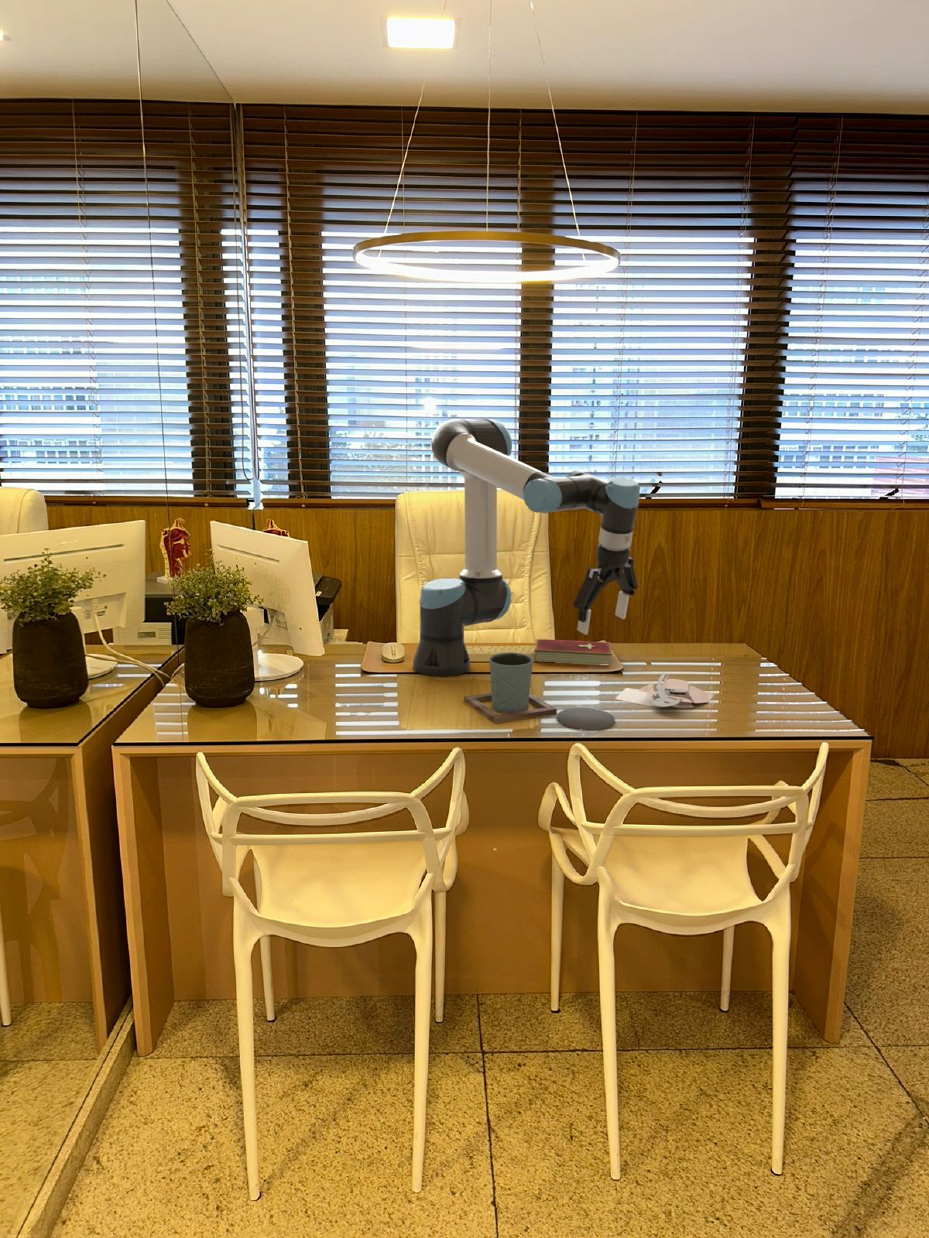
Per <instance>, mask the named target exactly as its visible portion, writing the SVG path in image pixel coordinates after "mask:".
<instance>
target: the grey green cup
mask: <svg viewBox="0 0 929 1238" xmlns="http://www.w3.org/2000/svg"><path fill="white" fill-rule="evenodd" d="M488 662H489V672H490V688H491V689H490V691H491V692H490V693H491V695H492V700H491V708H492V710H493V711H495V712H499V713H502V714H508V713H514V712H521V711H527V710H529V705H530V704H529V703H530V702H529V699H528V698H529V693H531V692H530V691H531V690H530V689H531V682H532V672H533V665H534V658H533V657H532V656H530V655H527V654H524V653H518V652H500V653H496V654H493V655H491V656H490V657H489V659H488Z"/></svg>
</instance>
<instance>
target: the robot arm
mask: <svg viewBox="0 0 929 1238" xmlns="http://www.w3.org/2000/svg"><path fill="white" fill-rule="evenodd" d="M430 444H431V446H430V447H431V452H432V454H433V456H434V458H435V459H436V460H437V461H438V462H439V463H440V464H442V465H443V466H445V467H447V468H449V469H451V470H452V471H455V472H458V473H459V474H460V475H462V477H463V478H464V568H463V569H461V571H460V572H459V578H453V577H448V578H447V577H446V578H438V579H433V580H430V581H428V582H426V583H425V584H424V585H422V587H421V589H420V598H419V641H418V645H417V647H416V650H415V652H414V653H415V654H414V656H413V659H412V668H413V670H414V671H415V672H416V673H419V674H421V675H424V676H425V675H426V676H431V677H453V676H459V675H463V674H466V673H467V672H469V671H470V669H471V660H470V655H469V653H468V650H467V647H466V644H465V640H464V639H465V627H469V626H472V625H473V626H475V625H477V624H482V623H491V622H493V621H495V620H499V619H501V618H502V617H504V616H505V615H506V613H508V611H509V609H510V606H511V603H512V590H511V587H510V586H509V583H508V581H506V580H505V579H504V578H503V572H501V570H500V569H499V568H498V557H497V556H498V555H497V554H498V552H497V551H498V548H497V547H498V542H497V541H498V538H497V537H498V531H497V530H498V527H497V526H498V488H499V489H501V490H503V491H505V492H506V493H509V494H510V495H513V496H516V497H517V498H519V499H521V500H523V501H524V504H525V506H527V508H528V510H530V511H531V512H533V513H540V514H549V513H553V512H562V511H571V510H572V511H573V510H580V509H586V510H589V511H590V512H593V513H595V514H597V515H600V516H602V517H601V522H600V523H601V524H600V528H599V535H598V544H597V548H596V549H597V550H596V559H597V562H598V565H597V567H596V568H592V567H588V569H587V572H586V575H585V576H586V577H585V579H584V581H583V583H582V586H581V587H580V589H579V591H578V593H577V596H576V598H575V600H574V602H573V604H572V606H573V607H574V608H576V609H578V615H577V620H578V622H577V629H576V630H577V631H578V632H579V633H582V634H583V635H585V636H586V635H588V634H589V627H590V622H591V621H590V620H591V615H592V609H590V608H591V607H592V605H593V603H594V602H595V600H596V599H597V598H598V596H599V594H600V593H601V591H602V590H603V588H604V589H605V588H606V586H608V584H610V583H611V582H617V584H618V586H619V589H621V590H620V591H618V597H617V602H616V607H615V614H614V615H615V616H616V617H618V618H620V619H622V620H625V619H626V616H627V611H628V605H629V603H630V598H631V596H634V595H635V592H636V590H638V582H637V577H636V573H635V567H634V566H635V565H634V564H635V559H634V558H632V557H630V553H631V546H632V540H633V534H634V528H635V522H636V518H637V512H638V508H639V504H640V492H641V486H640V484H639V482H637V481H636V480H635V479H632V478H626V477H620V476H617V477H612V478H610V479H609V480H608V481H606V480H604V479H601V478H599V477H597V476H594V475H592V473H590V472H584V471H582V470H577V469H576V470H573V471H571V472H570V473H568V474H567V475H566V476H563V477H562V476H560V477H556V476H552V475H550V474H547V473H545V472H542V471H541V470H538V469H536V468H534V467H532V466H530V465H528V464H526V463H523V462H522V461H519V460H517V459H515V458H513V457H511V454H512V451H513V450H512V449H513V441H512V437H511V434H510V431H509V430H508V428H507V427H505V424H503V423H502V422H501V421H499V420H497V419H492V418H491V419H490V418H471V419H469V418H467V419H466V418H464V419H463V418H462V419H459V418H458V419H457V418H455V419H453V418H452V419H449V420H445V421H444V422H442V423H441V424H440V425H438V426H437V427H436V428H435V430H434V432H433V434H432V437H431V442H430Z"/></svg>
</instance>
